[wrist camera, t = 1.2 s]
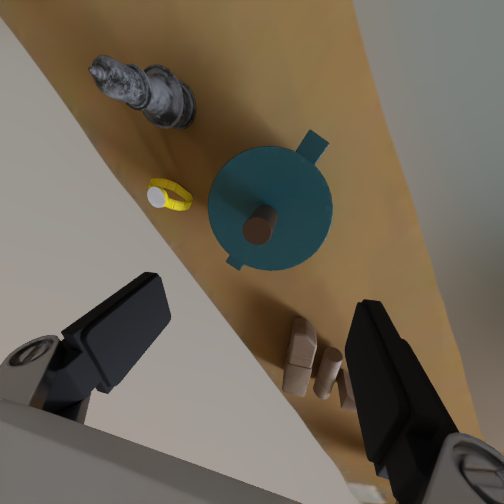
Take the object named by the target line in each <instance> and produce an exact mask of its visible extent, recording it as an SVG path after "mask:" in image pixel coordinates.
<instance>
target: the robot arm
mask: <svg viewBox="0 0 504 504" xmlns="http://www.w3.org/2000/svg"><path fill="white" fill-rule="evenodd" d="M170 320H171V313H170V310H169V306H168V302H167V299H166V294H165V291H164V287H163V283H162V279H161V277H160V276H159V275H158V274H157V273H151V272H144V273H143V274H141V275H140V276H139V277H137V278H135V279H134V280H133V281H131V282H130V283H128V284H127V285H126V286H125V287H123V288H122V289H120V290H119V291H118V292H116V293H115V294H113V295H112V296H110V297H109V298H108V299H106V300H105V301H103V302H102V303H101V304H99V305H98V306H96V307H95V308H94V309H92V310H91V311H89V312H88V313H87V314H85V315H84V316H82V317H81V318H80V319H78V320H77V321H76V322H74V323H73V324H71V325H70V326H68V327H67V328H66V329H64V330H63V331H61V333H62V335H63V336H64V338H65V339H63V340H62V341H60V339H59V338H58V337H57V336H55V335H47V336H42V337H39V338H36V339H33V340H31V341H29V342H27V343H25V344H23V345H22V346H21V347H18V348H17V349H16V350H14V351H13V352H12V353H10V354H9V355H8V357H7V358H6V359H5V360H4V361H3V363H2V364H1V365H0V504H302V503H299V502H297V501H294V500H291V499H289V498H286V497H283V496H280V495H278V494H275V493H272V492H270V491H267V490H264V489H261V488H259V487H256V486H253V485H250V484H247V483H245V482H242V481H239V480H237V479H234V478H231V477H228V476H226V475H223V474H220V473H218V472H215V471H212V470H209V469H207V468H204V467H201V466H198V465H196V464H193V463H190V462H187V461H184V460H182V459H179V458H176V457H173V456H171V455H168V454H165V453H162V452H159V451H157V450H154V449H151V448H148V447H145V446H143V445H140V444H137V443H134V442H132V441H129V440H126V439H123V438H120V437H117V436H115V435H112V434H109V433H106V432H104V431H101V430H98V429H95V428H92V427H89V426H86V425H84V421H85V417H86V412H87V409H88V404H89V400H90V396H91V391H92V390H93V389H94V388H96V389H97V391H100V392H103V393H106V394H108V393H109V392H110V391H111V390H112V389H113V387H114V386H116V385H118V384H119V383H120V382H121V381H122V380H123V378H124V377H125V376H126V375H127V373H128V372H129V371H130V370H131V368H132V367H133V366H134V365H135V364H136V362H137V361H138V360H139V359H140V357H141V356H142V355H143V354H144V353H145V351H146V350H147V349H148V348H149V347H150V345H151V344H152V343H153V342H154V340H155V339H156V338H157V337H158V336H159V334H160V333H161V332H162V330H163V329H164V328H165V327H166V326H167V324H168V323H169V322H170ZM345 357H346V362H347V367H348V371H349V376H350V381H351V385H352V390H353V395H354V399H355V404H356V409H357V413H358V418H359V423H360V427H361V432H362V437H363V441H364V446H365V451H366V455H367V458H368V460H369V461H370V462H373V463H374V466H375V470H376V475H377V476H379V477H382V478H385V479H389V481H390V485H391V489H392V492H393V496H394V497H395V499H396V503H395V504H504V456H503V455H502V454H501V453H499V452H498V451H497V450H496V449H494V448H493V447H491V446H490V445H488V444H486V443H485V442H483V441H482V440H480V439H478V438H475V437H473V436H470V435H468V434H463V433H460V432H459V431H458V429H457V427H456V425H455V424H454V422H453V420H452V418H451V417H450V415H449V413H448V411H447V410H446V408H445V406H444V404H443V403H442V401H441V399H440V397H439V396H438V394H437V392H436V390H435V389H434V387H433V385H432V383H431V382H430V380H429V378H428V376H427V375H426V373H425V371H424V369H423V368H422V366H421V364H420V362H419V361H418V359H417V357H416V355H415V354H414V352H413V350H412V348H411V347H410V345H409V344H408V342H407V341H405V340H404V339H401V338H400V336H399V334H398V332H397V330H396V328H395V327H394V325H393V323H392V321H391V319H390V317H389V316H388V314H387V312H386V310H385V308H384V306H383V305H382V303H381V302H380V301H374V300H366V299H364V300H363V301H362V302H358V303H357V306H356V309H355V313H354V317H353V320H352V324H351V327H350V331H349V334H348V338H347V342H346V345H345Z"/></svg>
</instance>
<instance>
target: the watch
mask: <svg viewBox="0 0 504 504" xmlns="http://www.w3.org/2000/svg"><path fill="white" fill-rule="evenodd" d="M163 188H167V189H169V190H172V191H174V192H176V193H177V194H178V195H180V196H181V197H182V198H184V199H185V200H186V201H187V202H182V201H177V200H173V199H171V198H169V197H168V195H167V193H166V191H165V190H164V189H163ZM147 191H148V192H147V197H148V200H149V202H150V203H151V204H152V205H153V206H154V207H156V208H162V207H167V208H170V209H173V210H179V211H181V210H182V211H183V210H187V209H189V207H190V206H191V203H192V201H193V197H192V195H191V193H189V192H188V191H186V190H185V189H184V188H182V187H181V186H180V185H178V184H177V183H176V182H173V181H171V180H167V179H163V178H154V179H151V181H150V182H149V186H148V189H147Z"/></svg>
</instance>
